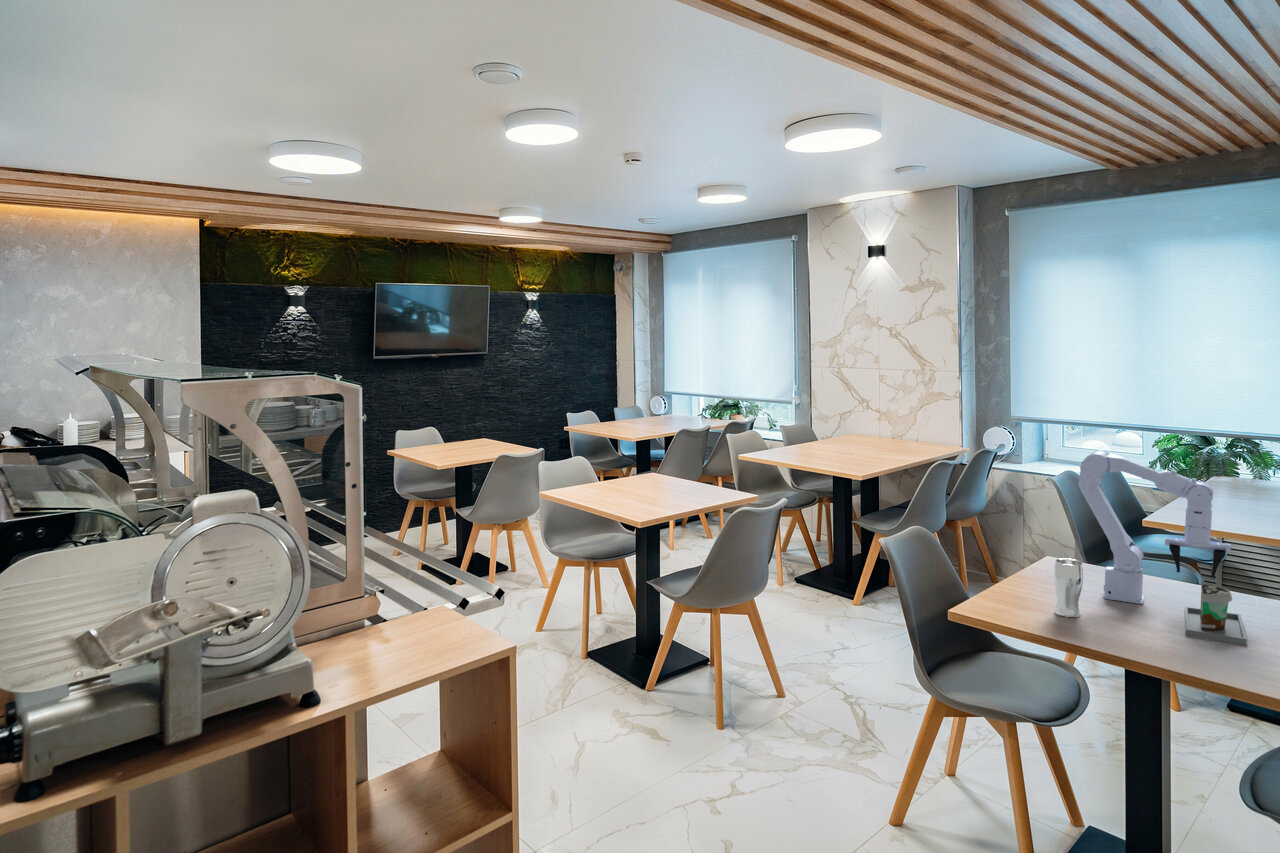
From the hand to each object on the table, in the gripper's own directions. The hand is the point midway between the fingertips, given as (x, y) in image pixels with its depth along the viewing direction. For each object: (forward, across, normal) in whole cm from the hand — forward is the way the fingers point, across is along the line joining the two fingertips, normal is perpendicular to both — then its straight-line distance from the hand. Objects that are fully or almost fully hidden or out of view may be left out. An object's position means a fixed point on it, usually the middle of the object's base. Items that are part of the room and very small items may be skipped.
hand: (1195, 573), depth 204 cm
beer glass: (+11, -28, -22) cm, 37 cm away
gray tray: (+10, +4, -14) cm, 18 cm away
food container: (+10, +4, -14) cm, 18 cm away
